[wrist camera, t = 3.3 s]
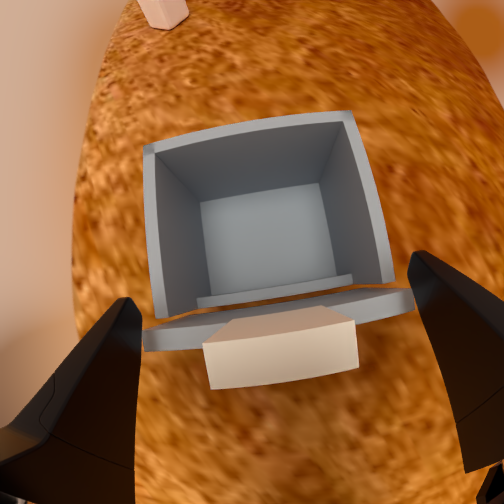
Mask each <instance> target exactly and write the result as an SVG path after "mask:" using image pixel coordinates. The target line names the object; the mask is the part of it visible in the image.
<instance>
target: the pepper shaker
mask: <svg viewBox="0 0 504 504" xmlns="http://www.w3.org/2000/svg"><path fill="white" fill-rule="evenodd" d="M137 1H138V3H139V5H140V7H141V9H142V11H143V13H144V15H145V17H146V19H147V21H148V23H149V25H150V26H151V27H153V28H159V29H166V30H169V29H172V28H174V27H175V26H176V25H177V24H179V23H180V22H181V21H182V20H184V19H185V18H186V17H188V15H189V11H188V8H187V5H186V2H185V0H137Z"/></svg>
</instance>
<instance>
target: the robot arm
mask: <svg viewBox="0 0 504 504" xmlns="http://www.w3.org/2000/svg"><path fill="white" fill-rule="evenodd" d="M407 276H408V280H409V283H410V286H411V289H412V292H413V295H414V298H415V301H416V304H417V307H418V311H419V314H420V317H421V319H422V322H423V324H424V327H425V329H426V332H427V335H428V337H429V340H430V342H431V345H432V348H433V350H434V353H435V356H436V359H437V362H438V365H439V368H440V371H441V374H442V377H443V380H444V383H445V386H446V390H447V393H448V397H449V400H450V404H451V408H452V411H453V415H454V419H455V423H456V428H457V433H458V437H459V442H460V447H461V453H462V458H463V464H464V470H465V474H466V473H469V472H472V471H475V470H478V469H481V468H484V467H486V466H489V465H491V464H494V463H496V462H498V463H497V464H496V465H494V466H493V467H491V468H490V469H489V471H488V473H487V476H486V478H485V480H484V482H483V484H482V486H481V488H480V490H479V492H478V494H477V496H476V501H477V504H504V301H502V300H501V299H499V298H498V297H497V296H495V295H494V294H492V293H491V292H489V291H488V290H487V289H485V288H484V287H482V286H481V285H479V284H478V283H476V282H475V281H473V280H472V279H470V278H469V277H467V276H466V275H464V274H463V273H461V272H459V271H458V270H456V269H455V268H453V267H452V266H450V265H448V264H447V263H445V262H443V261H442V260H440V259H439V258H437V257H435V256H434V255H432V254H430V253H429V252H427V251H425V250H420V251H415V252H413V253H412V255H411V259H410V263H409V267H408V271H407ZM141 346H142V315H141V312H140V311H139V309H138V308H137V306H136V305H135V303H134V301H133V300H132V299H131V298H130V297H122V298H118V299H117V300H116V301H115V302H114V303H113V305H112V306H111V307H110V308H109V309H108V310H107V311H106V312H105V313H104V314H103V315H102V317H101V318H100V319H99V320H98V321H97V322H96V323H95V324H94V326H93V327H92V328H91V329H90V330H89V331H88V332H87V333H86V335H85V336H84V337H83V338H82V339H81V340H80V342H79V343H78V344H77V345H76V346H75V347H74V349H73V350H72V351H71V352H70V354H69V355H68V356H67V357H66V358H65V359H64V361H63V362H62V363H61V364H60V365H59V367H58V368H57V369H56V370H55V373H53V374H52V375H51V377H50V378H49V379H48V380H47V382H46V383H45V384H44V385H43V386H42V388H41V389H40V390H39V391H38V392H37V394H36V395H35V396H34V397H33V398H32V399H31V401H30V402H29V403H28V404H27V405H26V406H25V407H24V408H23V410H22V411H21V412H20V413H19V414H18V415H17V416H16V417H15V419H14V420H13V421H12V422H11V423H9V424H8V425H7V426H5V427H2V428H0V504H135V471H134V456H135V427H136V410H137V397H138V386H139V376H140V366H141ZM499 461H500V462H499Z"/></svg>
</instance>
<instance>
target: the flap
mask: <svg viewBox="0 0 504 504" xmlns="http://www.w3.org/2000/svg"><path fill="white" fill-rule="evenodd" d="M413 310H415V305H414V296H413V292H412V289H411V288H359V289H354V290H349V291H344V292H339V293H333V294H328V295H323V296H317V297H312V298H306V299H300V300H294V301H288V302H282V303H275V304H269V305H262V306H256V307H249V308H242V309H234V310H227V311H219V312H211V313H203V314H194V315H188V316H185V317H182V318H179V319H176V320H173V321H170V322H167V323H164V324H161V325H158V326H155V327H151V328H148V329H145V330H142V340H143V345H144V351H145V352H151V351H171V350H187V349H200V348H203V352H204V357H205V362H206V368H207V373H208V378H209V383H210V388H211V390H213V389H228V388H240V387H250V386H259V385H267V384H275V383H282V382H289V381H295V380H301V379H307V378H313V377H318V376H323V375H328V374H333V373H338V372H342V371H347V370H351V369H355V368H359V359H358V348H357V338H356V328H355V325H357V324H362V323H366V322H370V321H375V320H379V319H383V318H387V317H391V316H395V315H398V314H402V313H406V312H409V311H413Z"/></svg>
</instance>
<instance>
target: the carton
mask: <svg viewBox="0 0 504 504" xmlns="http://www.w3.org/2000/svg"><path fill="white" fill-rule="evenodd" d="M143 186H144V211H145V227H146V241H147V252H148V262H149V272H150V280H151V288H152V296H153V303H154V310H155V316H156V319H158V318H168V317H172V316H175V315H179V314H182V313H185V312H189V311H192V310H195V309H200V308H208V307H216V306H223V305H231V304H238V303H245V302H252V301H259V300H266V299H272V298H278V297H285V296H291V295H297V294H303V293H308V292H314V291H320V290H325V289H331V288H336V287H341V286H347V285H352V284H384V283H389V282H393V281H395V275H394V269H393V263H392V257H391V251H390V246H389V241H388V236H387V231H386V226H385V222H384V217H383V213H382V209H381V205H380V201H379V197H378V193H377V189H376V186H375V182H374V178H373V175H372V171H371V168H370V165H369V161H368V158H367V155H366V152H365V149H364V146H363V143H362V140H361V137H360V134H359V131H358V128H357V125H356V123H355V120H354V117H353V115H352V112H351V110H349V111H330V112H317V113H306V114H296V115H287V116H279V117H272V118H265V119H258V120H252V121H246V122H240V123H235V124H230V125H224V126H219V127H215V128H210V129H205V130H201V131H197V132H192V133H188V134H184V135H180V136H176V137H173V138H169V139H165V140H162V141H158V142H154V143H151V144H148V145H144V146H143Z"/></svg>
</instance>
